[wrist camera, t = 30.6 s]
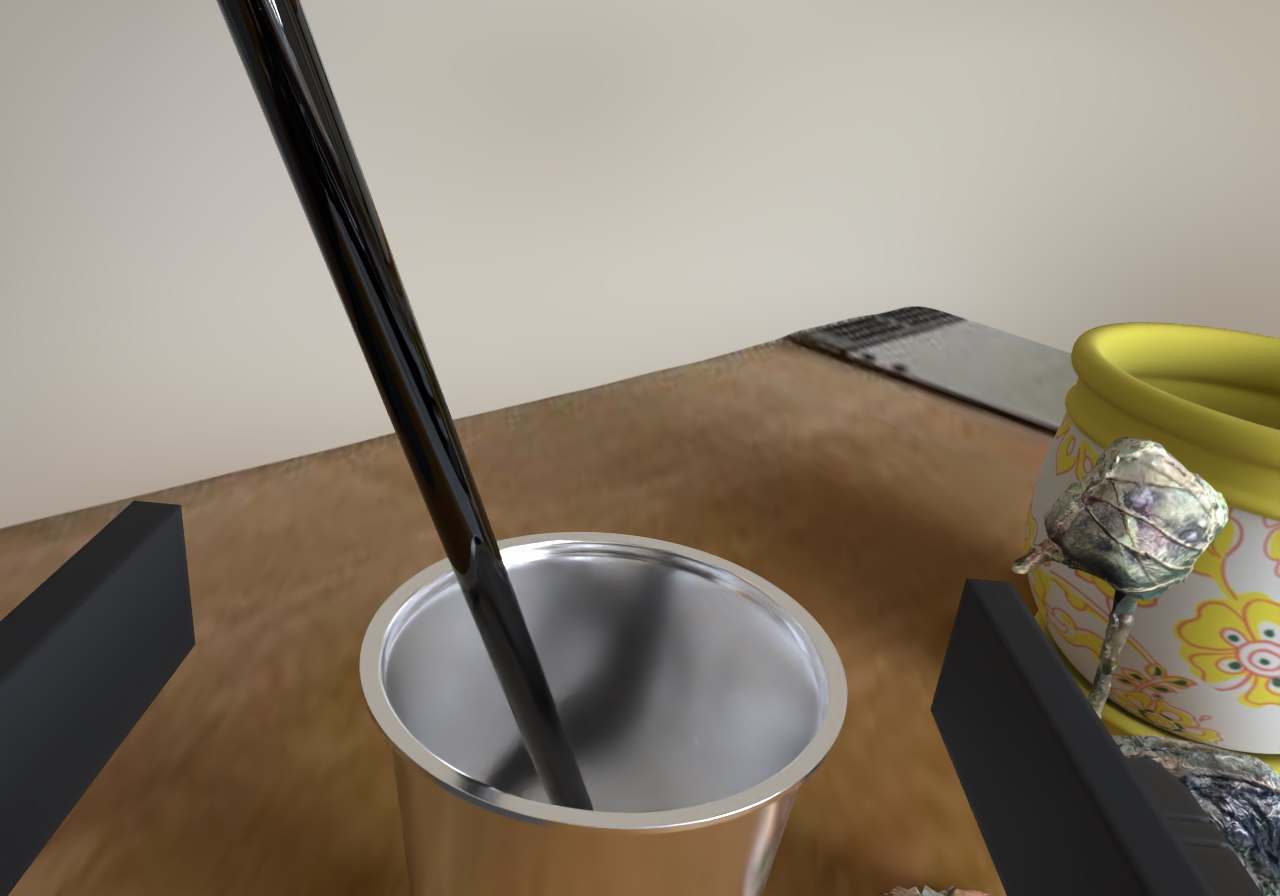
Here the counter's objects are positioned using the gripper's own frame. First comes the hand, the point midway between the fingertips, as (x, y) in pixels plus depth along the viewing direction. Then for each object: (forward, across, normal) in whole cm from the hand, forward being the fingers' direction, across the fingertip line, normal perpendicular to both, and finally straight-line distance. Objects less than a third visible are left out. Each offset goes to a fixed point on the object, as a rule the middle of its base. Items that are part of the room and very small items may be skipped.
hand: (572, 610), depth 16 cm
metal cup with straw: (+2, 0, -18) cm, 18 cm away
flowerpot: (+25, +29, -18) cm, 42 cm away
